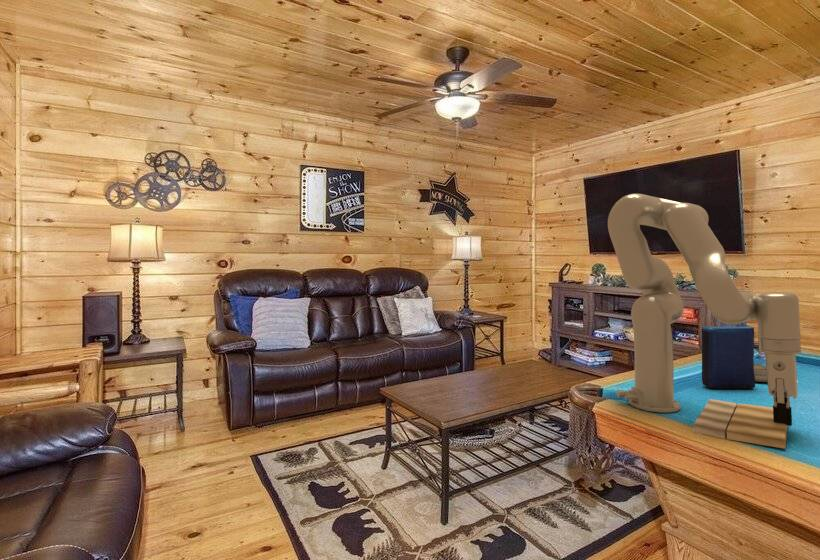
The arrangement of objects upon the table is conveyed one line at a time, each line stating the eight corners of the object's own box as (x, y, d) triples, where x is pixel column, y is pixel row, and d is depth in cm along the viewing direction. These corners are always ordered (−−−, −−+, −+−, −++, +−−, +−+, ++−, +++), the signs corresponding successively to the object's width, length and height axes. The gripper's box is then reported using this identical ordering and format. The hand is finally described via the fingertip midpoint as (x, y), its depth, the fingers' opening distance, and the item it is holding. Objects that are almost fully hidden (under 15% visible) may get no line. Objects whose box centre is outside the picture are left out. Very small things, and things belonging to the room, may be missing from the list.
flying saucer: (728, 371, 157) (728, 356, 156) (782, 377, 147) (782, 361, 147) (725, 380, 145) (725, 364, 145) (784, 387, 135) (784, 370, 135)
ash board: (724, 438, 98) (724, 429, 98) (693, 432, 102) (693, 423, 102) (736, 410, 116) (736, 403, 116) (710, 406, 120) (709, 398, 120)
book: (747, 385, 138) (747, 323, 137) (759, 390, 132) (759, 326, 132) (699, 385, 139) (699, 324, 138) (709, 390, 134) (709, 326, 133)
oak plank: (785, 448, 91) (784, 439, 91) (726, 439, 98) (726, 430, 98) (788, 417, 109) (787, 409, 109) (738, 410, 116) (738, 403, 116)
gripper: (800, 351, 92) (804, 437, 92) (801, 341, 103) (804, 418, 103) (756, 349, 97) (759, 430, 97) (760, 339, 108) (764, 412, 108)
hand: (782, 423), depth 100 cm, fingers closed
